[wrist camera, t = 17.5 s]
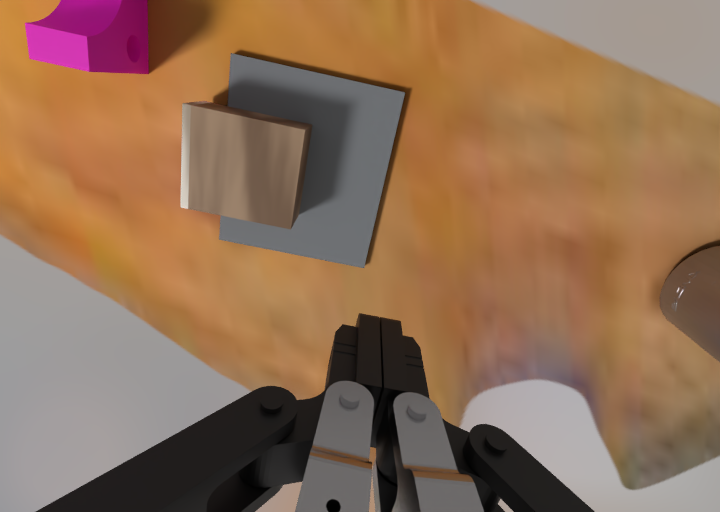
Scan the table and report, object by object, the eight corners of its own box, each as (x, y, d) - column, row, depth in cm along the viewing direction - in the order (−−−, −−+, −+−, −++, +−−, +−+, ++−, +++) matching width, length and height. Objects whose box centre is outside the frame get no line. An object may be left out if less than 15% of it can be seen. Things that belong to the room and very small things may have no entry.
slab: (305, 129, 29) (182, 103, 28) (290, 229, 32) (180, 207, 32) (312, 124, 32) (204, 100, 32) (299, 214, 36) (200, 194, 35)
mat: (404, 92, 32) (405, 92, 31) (364, 265, 38) (364, 268, 38) (233, 53, 31) (230, 53, 30) (221, 237, 37) (219, 239, 37)
